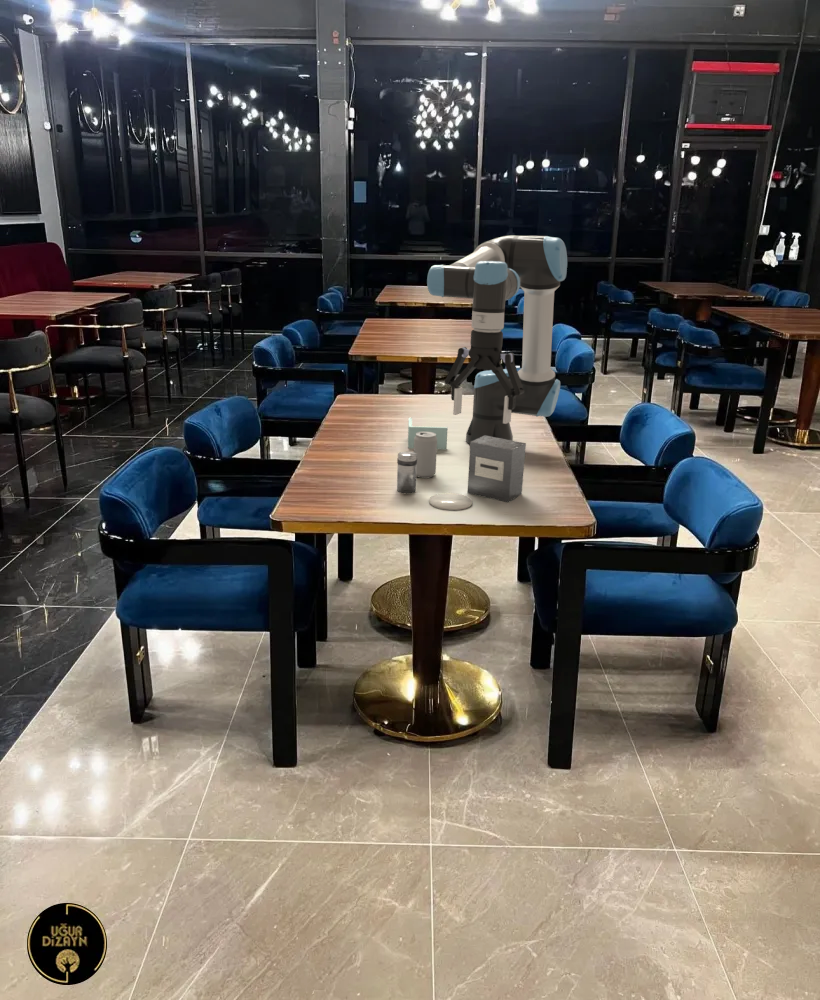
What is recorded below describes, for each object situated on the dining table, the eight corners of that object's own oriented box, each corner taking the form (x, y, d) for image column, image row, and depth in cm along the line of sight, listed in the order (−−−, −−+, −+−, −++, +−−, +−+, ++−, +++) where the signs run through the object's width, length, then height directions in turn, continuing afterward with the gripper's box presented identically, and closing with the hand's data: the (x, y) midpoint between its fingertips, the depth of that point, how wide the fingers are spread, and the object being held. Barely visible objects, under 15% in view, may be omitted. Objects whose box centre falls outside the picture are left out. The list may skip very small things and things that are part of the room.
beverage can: (422, 470, 223) (423, 429, 219) (440, 475, 219) (442, 433, 215) (408, 475, 219) (409, 433, 214) (426, 480, 215) (427, 438, 211)
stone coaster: (442, 492, 206) (442, 490, 206) (479, 501, 200) (479, 498, 200) (420, 504, 197) (420, 501, 197) (458, 513, 192) (459, 511, 191)
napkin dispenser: (481, 485, 212) (484, 435, 207) (521, 494, 206) (525, 443, 201) (466, 493, 205) (469, 442, 201) (507, 503, 200) (511, 450, 195)
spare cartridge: (403, 485, 210) (404, 450, 206) (419, 489, 207) (421, 453, 204) (392, 491, 206) (393, 454, 202) (409, 495, 203) (410, 458, 200)
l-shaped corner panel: (446, 451, 244) (447, 427, 241) (408, 450, 244) (408, 426, 241) (444, 440, 255) (445, 418, 253) (407, 439, 255) (408, 417, 252)
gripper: (433, 326, 186) (429, 413, 193) (529, 337, 174) (521, 429, 181) (449, 323, 192) (445, 407, 199) (542, 333, 180) (534, 423, 187)
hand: (481, 418), depth 190 cm, fingers open, 13 cm apart
